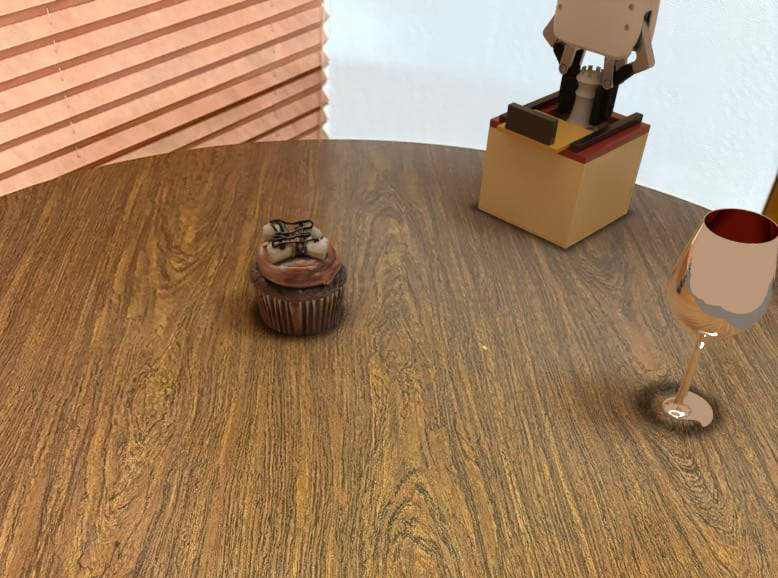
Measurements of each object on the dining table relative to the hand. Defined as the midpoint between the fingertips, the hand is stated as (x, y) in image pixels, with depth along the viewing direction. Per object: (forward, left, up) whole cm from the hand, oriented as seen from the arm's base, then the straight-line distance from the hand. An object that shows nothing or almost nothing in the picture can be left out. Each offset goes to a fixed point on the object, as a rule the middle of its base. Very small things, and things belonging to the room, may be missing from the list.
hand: (583, 114), depth 97 cm
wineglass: (+25, +30, -11) cm, 41 cm away
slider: (+7, 0, 0) cm, 7 cm away
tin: (+2, 0, -11) cm, 11 cm away
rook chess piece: (0, 0, -3) cm, 3 cm away
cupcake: (+40, -4, -11) cm, 42 cm away
